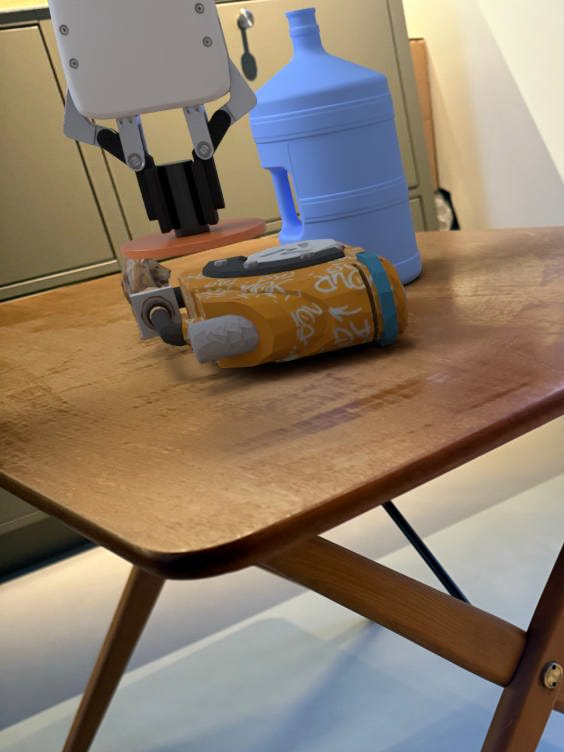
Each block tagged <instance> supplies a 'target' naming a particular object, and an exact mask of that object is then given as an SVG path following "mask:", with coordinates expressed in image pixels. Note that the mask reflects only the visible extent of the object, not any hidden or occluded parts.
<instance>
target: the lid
mask: <svg viewBox="0 0 564 752" xmlns="http://www.w3.org/2000/svg"><path fill="white" fill-rule="evenodd" d="M193 161H194V160H193V158H192V159H191V158H188V159H181V160H180V159H179V160H174V161H168V162H163V163H159V164H156V165H157V170H158V173H159V177H160V181H161V184H162V188H163V192H164V195H165V199H166V203H167V206H168V210H169V214H170V217H171V221H172V225H173V230H171V232H170V233H165V234H162V233H161V231H157V232H154V233H150V234H147V235H146V234H145V235H142V236H139V237H137V238H133V239H132V240H129V241H127V242H124V243H123V244H121V245H120V246H119V250H120V253H121V256H122V258H124V259H126V260H128V259H153V260H154V259H162V258H170V257H177V256H183V255H184V256H185V255H188V254H196V253H201V252H205V251H209V250H215V249H219V248H224V247H228V246H231V245H234V244H238V243H241V242H242V243H243V242H245V241H248V240H251V239H253V238H256V237H258V236H260V235H262V234H264V233H265V232H266V231H268V228H267V223H266V220H265V219H264V218H260V217H235V218H227V219H219V221H218V224H216V225H211V226H210V225H209V224H206V222H205V218H204V215H203V211H202V207H201V203H200V199H199V195H198V191H197V188H196V184H195V180H194V176H193V172H192V168H191V164H192V163H193Z"/></svg>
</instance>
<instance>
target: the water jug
mask: <svg viewBox="0 0 564 752" xmlns="http://www.w3.org/2000/svg"><path fill="white" fill-rule="evenodd" d="M284 15H285V17H286V19H287V22H288V26H289V29H288V33H289V37H290V39H291V44H292V48H293V49H292V50H293V55H292V57H291V59H290V60H289V62H287V63H286V65H284V66H283V67H282V68H280V70H279V71H277V72H276V73H275V74H274V75H273V76H272V77H271V78H269V80H267V81H266V82H265V83H264V84H263V85H261V86H260V87H259V89H257V90H256V91H255V92H254V93H255V95H256V97H257V105H256V106H255V107H254V108H253V109H252V110H250V111H249V112H248V116H249V118H248V121H249V126H250V131H251V135H252V138H253V142H254V144H255V145H256V150H257V153H258V158H259V162H260V166H261V168H262V169H264V170H268V171H269V173H270V176H271V177H270V178H271V180H272V184H273V190H274V192H275V193H274V194H275V197H276V201H277V206H278V211H279V214H280V219H281V223H282V225H281V226H282V227H281V230H280V231H279V232H278V237H277V238H278V241H279V246H281V245H284V244H290V243H295V242H301V241H307V240H317V239H333V240H335V241H338V242H341V243H343V244H346V245H349V246H351V247H354V248H355V247H360V248H362V249H364V250H366V251H369V252H371V253H373V254H376V255H378V256H380V257H383V258H385V259H387V260H388V261H389V262H390V263H391V264H392V265H393V266H394V267H395V269H396V270H397V273H398V275H399V278H400V281H401V284H402V285H403V286H404V285H407V284H409V283H410V282H412V281H414V280H415V279H417V278H418V277H419V275H420V274H421V272H422V269H423V264H422V259H421V253H420V250H419V248H418V244H417V238H416V233H415V227H414V221H413V216H412V215H413V214H412V211H411V204H410V191H409V184H408V179H407V175H406V173H405V171H404V165H403V158H402V154H401V149H400V143H399V137H398V132H397V131H398V130H397V127H396V119H395V116H396V114H395V107H394V102H393V97H392V93H391V92H390V88H389V82H388V78H387V76H386V74H384V73H382V72H380V71H377V70H374V69H371V68H368V67H366V66H363V65H362V64H361V65H360V64H358V63H355V62H353V61H350V60H346V59H345V58H341V57H339V56H336V55H334V54H330V53H329V52H327V51H326V49H325V47H324V46H323V44H322V39H321V34H320V33H321V30H320V25H319V24H318V22H317V17H316V7H315V6H314V7H305V8H301V9H295V10H290V11H286V12H284ZM288 174H289V175H290V177H291V182H292V183H291V184H292V187H293V191H294V195H295V200H296V204H297V209H298V213H299V217H298V213H297V210H296V206H295V202H294V197H293V193H292V188H291V184H290V180H289V175H288Z"/></svg>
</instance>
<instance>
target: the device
mask: <svg viewBox="0 0 564 752" xmlns="http://www.w3.org/2000/svg"><path fill="white" fill-rule="evenodd" d="M176 278H177V282H178V286H174V287H173V286H172V285H169V286H168V287H163V286H162V288H157V287H149V288H147V289H145V290H143V291H142V292H140V293H136V294H131V295H130V299H131V302H132V305H133V308H134V311H135V315H136V318H137V321H138V324H139V327H140V328H139V332H140V331H141V332H140V333H141V334H142V337H143V339H142V340H148V339H151V338H155V337H160V339H161V340H162V342H163V343H164V344H166V345H170V346H172V347H185V346H188V347H189V348H192V350H193V353H194V356H195V359H196V361H197V362H198V363H199V364H200V365H203V364H208V363H212V362H213V363H217V364H218V366H219V367H220V369H226V368H227V369H229V368H244V367H257V366H260V365H263V364H267V363H284V362H290V361H291V362H292V361H295V360H299V359H303V358H307V357H311V356H316V355H320V354H324V353H328V352H329V353H330V352H333V351H337V350H341V349H345V348H350V347H353V346H358V345H362V344H366V343H370V342H373V341H375V342H376V343H377V344H379V345H380V346H382V347H385V346H387V345H388V346H389V345H392V344H393V343H395V342H397V341H398V336H399V335H401V334H404V333H405V331H406V329H407V328H408V322H409V312H408V306H407V305H408V304H407V302H408V299H407V292H406V289H405V287H404V285H402V284H401V281H400V278H399V275H398V273H397V270H396V269H395V267H394V266H393V265H392V264H391V263H390V262H389V261H388V260H387V259H385V258H383V257H380V256H378V255H376V254H373V253H371V252H369V251H366V250H364V249H362V248H360V247H355V248H354V247H351V246H349V245H346V244H343V243H341V242H338V241H335V240H333V239H317V240H307V241H301V242H295V243H290V244H284V245H277V246H273V247H269V248H266V249H264V250H260V251H258V252H256V253H255V252H254V253H253V254H250V255H248V256H245V255H236V256H232V257H225V258H220V259H214V260H210V261H208V262H207V263H206V264H205V265H204V266H199V267H195V268H190V269H186V270H185V269H184V270H182V271H177V276H176ZM184 308H185V310H186V313H187V317H188V319H185V320H183V317H182V314H181V309H184Z"/></svg>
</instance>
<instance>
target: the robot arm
mask: <svg viewBox="0 0 564 752" xmlns="http://www.w3.org/2000/svg"><path fill="white" fill-rule="evenodd" d="M47 5H48V9H49V14H50V19H51V23H52V28H53V32H54V36H55V41H56V45H57V50H58V53H59V57H60V62H61V66H62V70H63V74H64V77H65V81H66V85H67V86H66V94H65V103H64V112H63V122H62V132H63V134H64V136H65V137H66V138H68V139H71V140H73V141H74V140H75V141H77V142H81V143H84V144H87V145H90V146H94V147H98V148H102V149H103V150H105V151H106V152H107V153H109V154H110V155H112V157H114V158H116V159H117V160H119V161H120V162H122V163H123V164H124V165H126V166H127V168H129V170H130V171H133V172H134V174H135V178H136V181H137V185H138V188H139V192H140V195H141V199H142V202H143V206H144V209H145V212H146V215H147V218H148V221H149V222H153V221H157V222H158V223H157V224H158V226H159V230H160V232H161V233H162V234H165V233H170V232H171V230H173V225H172V221H171V217H170V214H169V210H168V206H167V203H166V199H165V195H164V192H163V188H162V184H161V181H160V177H159V173H158V170H157V165H158V164H156V163H155V159H154V156H152V155H151V154H149V149H148V145H147V141H146V136H145V133H144V128H143V124H142V119H141V115H146V114H147V115H148V114H153V113H157V112H165V111H171V110H176V109H181V110H182V112H183V115H184V119H185V122H186V125H187V129H188V132H189V137H190V139H191V142H192V146H193V149H192V150H191V156H192V160H193V163H192V164H191V168H192V172H193V176H194V180H195V184H196V188H197V191H198V195H199V199H200V203H201V207H202V211H203V215H204V218H205V222H206V224H209V225H210V226H211V225H216V224H218V221H219V220H220V216H219V212H218V210H224V209H226V202H225V197H224V194H223V189H222V185H221V182H220V181H221V180H220V178H219V173H218V169H217V165H216V162H215V157H214V155H215V153H216V151H217V149H218V147H219V146H220V144H221V143H222V141H223V139H224V137H225V136H226V134H227V132H228V130H229V129H230V127H232V126H233V125H234V124H235V123H236V122H238V121H239V120H240V119H242V118H243V117H244V116H245V115H247V114H249V111H250V110H252V109H253V108H254V107H255V106H256V105H257V97H256V95H255V92H254V90H253V89H252V87H251V86H250V85H249V83H248V82H247V80H246V79H245V78H244V76H243V75H242V73H241V71H240V70H239V69H238V67H237V66H236V64H235V63H234V61H233V60H232V59H231V57H230V54H229V50H228V45H227V41H226V37H225V33H224V30H223V26H222V22H221V19H220V15H219V11H218V8H217V4H216V0H47ZM228 93H229V99H228V101H227V102H226V103H224V104H223V105H222V106H221V107H219V108H218V109H216V110H215V111H214V112H213V114H212V115H211V117H210V119H209V116H208V114H207V110H206V107H205V104H208V103H212V102H215V101H217V100H219V99H221V98H223V97H225V96H227V95H228ZM91 119H92V120H96V121H97V120H98V121H107V120H115V123H116V128H117V130H118V131H117V130H115V129H114V128H111V127H107V126H103V125H100V124H98V123H95V122H93V121H92V120H91Z"/></svg>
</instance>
